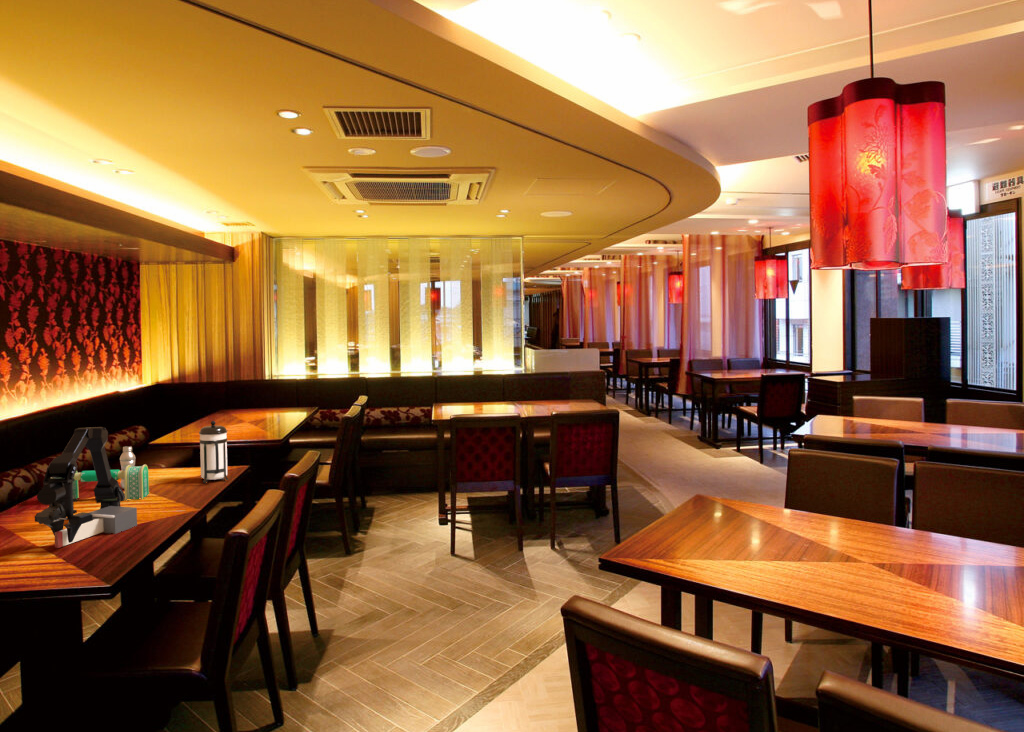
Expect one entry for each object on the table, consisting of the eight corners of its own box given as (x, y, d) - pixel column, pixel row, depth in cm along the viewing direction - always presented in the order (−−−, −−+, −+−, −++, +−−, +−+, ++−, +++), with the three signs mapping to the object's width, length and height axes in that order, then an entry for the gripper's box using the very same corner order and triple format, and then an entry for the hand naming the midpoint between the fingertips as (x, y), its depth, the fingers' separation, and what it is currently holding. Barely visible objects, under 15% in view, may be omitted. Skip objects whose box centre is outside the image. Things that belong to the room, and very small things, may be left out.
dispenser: (110, 523, 244) (110, 505, 243) (137, 525, 241) (136, 507, 241) (85, 532, 233) (85, 513, 233) (113, 534, 230) (112, 515, 230)
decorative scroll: (149, 495, 287) (148, 462, 287) (142, 500, 279) (141, 466, 278) (60, 499, 280) (59, 466, 279) (51, 504, 272) (49, 470, 271)
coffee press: (189, 483, 310) (187, 422, 309) (213, 476, 325) (211, 418, 324) (218, 485, 305) (216, 424, 304) (241, 478, 320) (239, 419, 319)
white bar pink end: (102, 530, 234) (102, 516, 234) (105, 530, 234) (105, 517, 233) (55, 547, 215) (54, 532, 215) (58, 547, 215) (58, 532, 215)
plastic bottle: (129, 490, 295) (128, 448, 294) (117, 489, 296) (115, 447, 295) (140, 487, 301) (139, 445, 300) (128, 486, 303) (126, 445, 302)
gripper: (18, 501, 211) (20, 547, 212) (63, 505, 207) (65, 551, 208) (49, 493, 222) (51, 537, 223) (93, 496, 218) (94, 540, 219)
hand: (64, 541), depth 218 cm, fingers open, 5 cm apart
